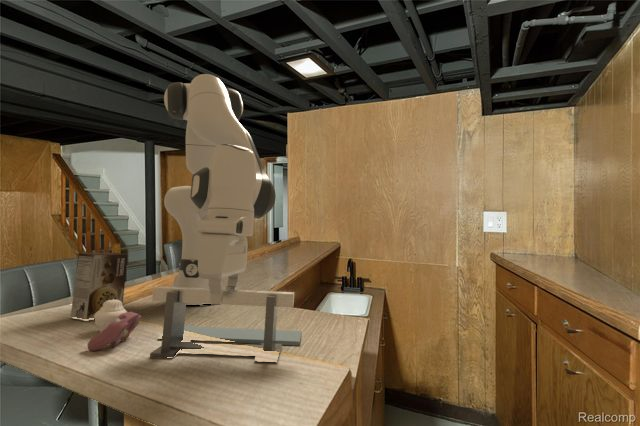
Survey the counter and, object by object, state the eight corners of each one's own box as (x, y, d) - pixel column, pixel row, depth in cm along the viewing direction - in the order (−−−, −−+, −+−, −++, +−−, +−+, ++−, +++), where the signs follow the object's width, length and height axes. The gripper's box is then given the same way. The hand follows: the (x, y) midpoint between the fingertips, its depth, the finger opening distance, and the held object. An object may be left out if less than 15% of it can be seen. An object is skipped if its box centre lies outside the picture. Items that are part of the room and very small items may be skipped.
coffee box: (106, 312, 84) (113, 252, 86) (122, 315, 82) (129, 253, 83) (68, 318, 76) (77, 252, 77) (85, 322, 73) (94, 253, 75)
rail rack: (170, 343, 61) (176, 286, 62) (281, 348, 62) (285, 291, 63) (149, 357, 53) (156, 292, 54) (277, 363, 54) (281, 298, 55)
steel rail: (158, 298, 59) (159, 286, 60) (293, 304, 60) (294, 292, 60) (152, 301, 57) (153, 287, 57) (292, 307, 57) (293, 294, 58)
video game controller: (106, 361, 55) (129, 324, 56) (82, 349, 55) (106, 313, 56) (130, 343, 65) (149, 313, 66) (110, 333, 64) (130, 302, 65)
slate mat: (175, 329, 71) (175, 325, 71) (301, 334, 72) (301, 331, 72) (158, 339, 63) (158, 335, 63) (299, 345, 64) (300, 341, 64)
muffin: (132, 330, 69) (135, 298, 69) (104, 337, 63) (108, 302, 64) (113, 326, 71) (117, 295, 72) (84, 333, 65) (89, 299, 66)
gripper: (228, 228, 70) (223, 290, 69) (193, 220, 50) (185, 308, 48) (256, 230, 70) (251, 292, 69) (232, 222, 50) (225, 310, 48)
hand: (224, 299), depth 58 cm, fingers open, 8 cm apart
